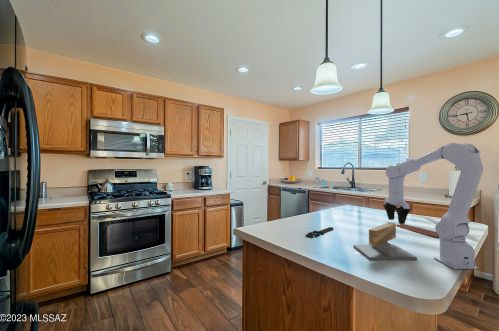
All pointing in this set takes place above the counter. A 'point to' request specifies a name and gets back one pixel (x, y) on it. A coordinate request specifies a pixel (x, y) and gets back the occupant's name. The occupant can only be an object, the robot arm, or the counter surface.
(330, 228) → the black spatula
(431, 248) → the counter surface
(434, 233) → the wooden tablet
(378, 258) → the stand
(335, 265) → the counter surface
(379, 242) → the wooden block
